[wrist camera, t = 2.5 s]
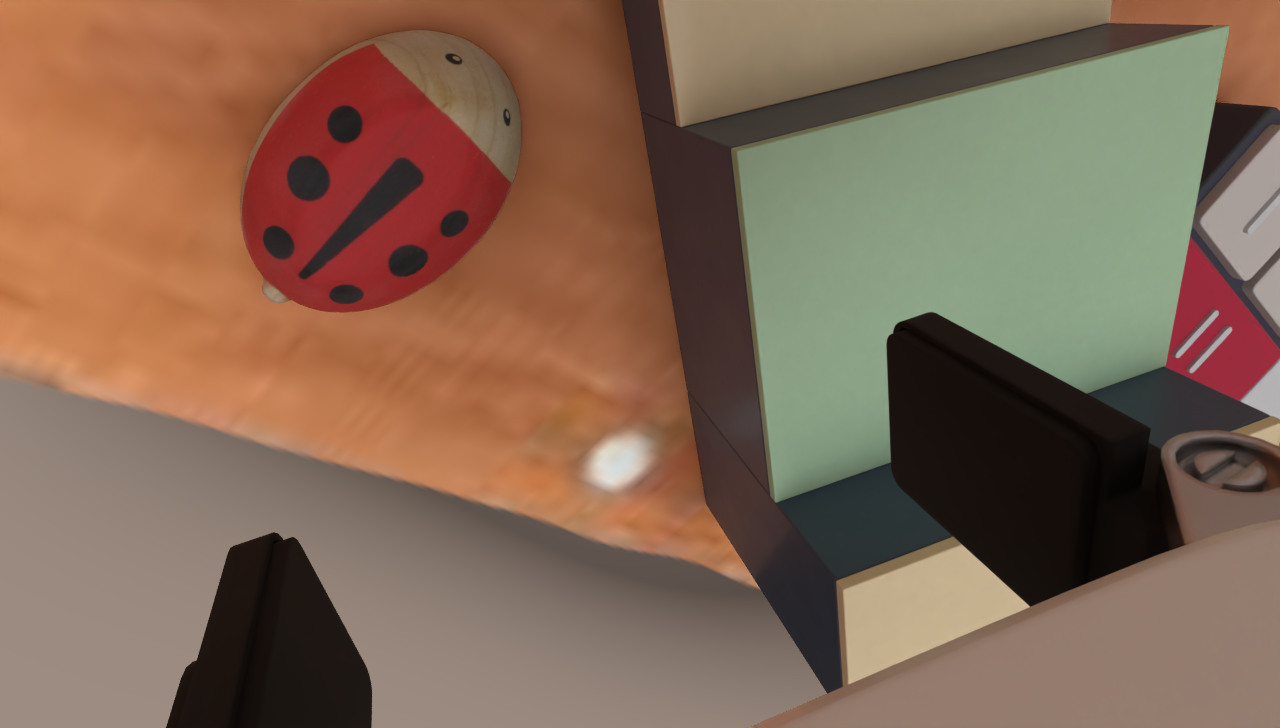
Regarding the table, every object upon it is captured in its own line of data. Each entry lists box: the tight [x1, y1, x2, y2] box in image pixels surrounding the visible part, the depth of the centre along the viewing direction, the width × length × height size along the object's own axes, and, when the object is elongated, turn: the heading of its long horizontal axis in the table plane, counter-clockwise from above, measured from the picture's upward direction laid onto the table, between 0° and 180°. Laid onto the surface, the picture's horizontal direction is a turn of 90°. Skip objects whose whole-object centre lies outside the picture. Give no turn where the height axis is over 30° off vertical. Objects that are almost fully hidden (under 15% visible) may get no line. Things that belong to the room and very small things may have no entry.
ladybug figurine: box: [240, 30, 522, 312], centre depth 22 cm, size 7×10×4 cm
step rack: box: [622, 0, 1280, 694], centre depth 24 cm, size 23×15×12 cm, turn 11°
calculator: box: [1165, 103, 1280, 419], centre depth 34 cm, size 11×4×15 cm
